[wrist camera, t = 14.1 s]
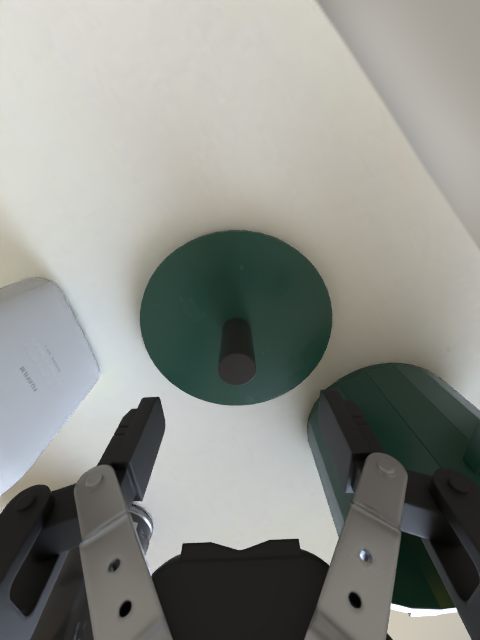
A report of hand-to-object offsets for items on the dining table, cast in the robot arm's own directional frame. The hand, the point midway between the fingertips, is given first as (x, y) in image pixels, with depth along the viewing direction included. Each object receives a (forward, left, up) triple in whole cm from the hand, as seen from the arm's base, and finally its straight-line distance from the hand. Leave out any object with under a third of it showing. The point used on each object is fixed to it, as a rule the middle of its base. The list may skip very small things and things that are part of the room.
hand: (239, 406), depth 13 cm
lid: (0, 0, -9) cm, 9 cm away
